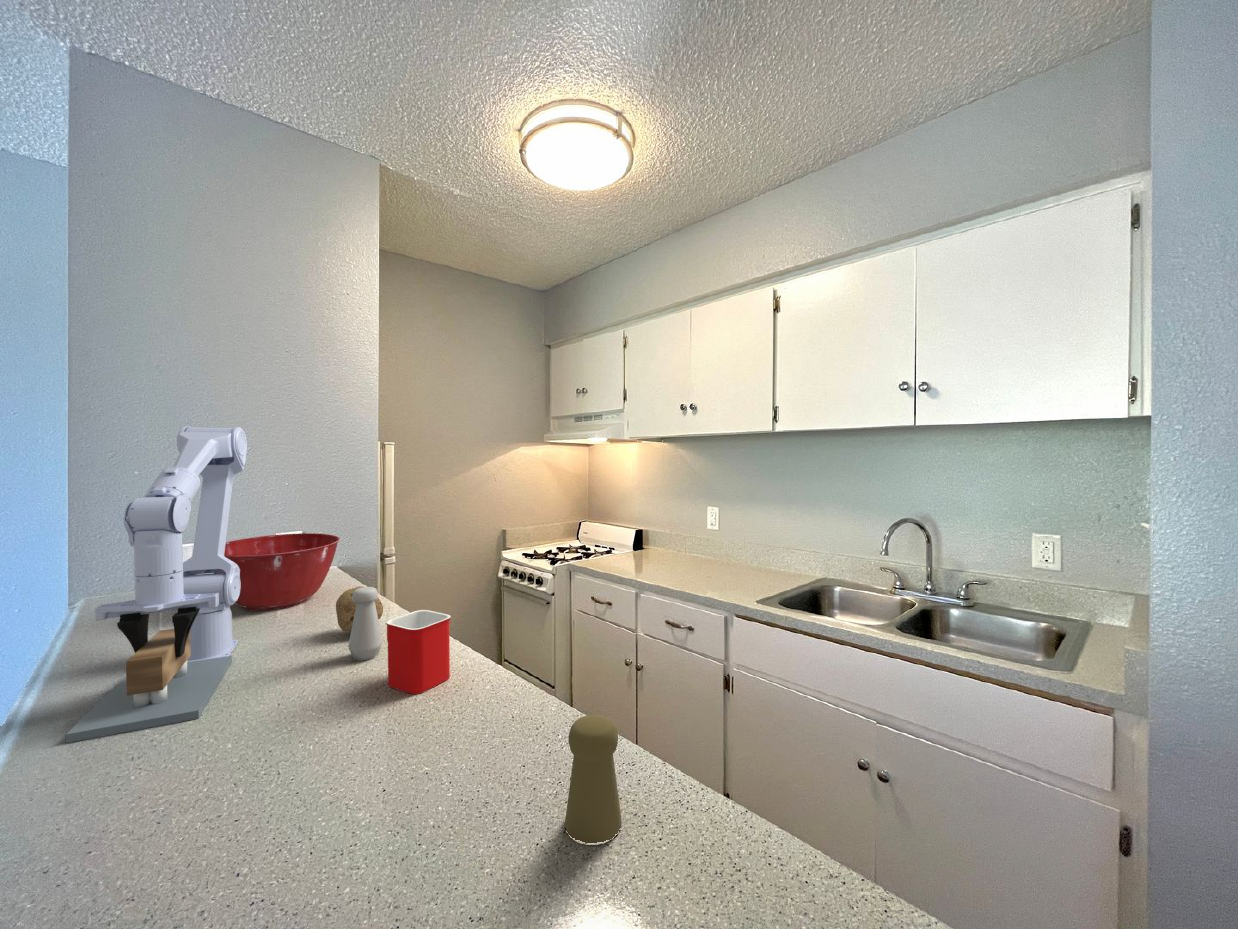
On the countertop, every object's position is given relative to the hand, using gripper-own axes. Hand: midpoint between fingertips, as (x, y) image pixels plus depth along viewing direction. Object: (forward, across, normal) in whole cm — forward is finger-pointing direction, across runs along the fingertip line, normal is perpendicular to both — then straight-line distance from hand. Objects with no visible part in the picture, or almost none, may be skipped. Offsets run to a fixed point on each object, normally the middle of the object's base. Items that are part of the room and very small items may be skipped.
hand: (161, 657), depth 81 cm
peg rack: (+6, 0, 0) cm, 6 cm away
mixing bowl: (+6, +9, +51) cm, 52 cm away
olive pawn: (+6, +50, -56) cm, 75 cm away
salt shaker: (+6, +29, +3) cm, 30 cm away
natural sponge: (+6, +28, +17) cm, 33 cm away
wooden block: (+2, 0, 0) cm, 3 cm away
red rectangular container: (+6, +36, -11) cm, 38 cm away
